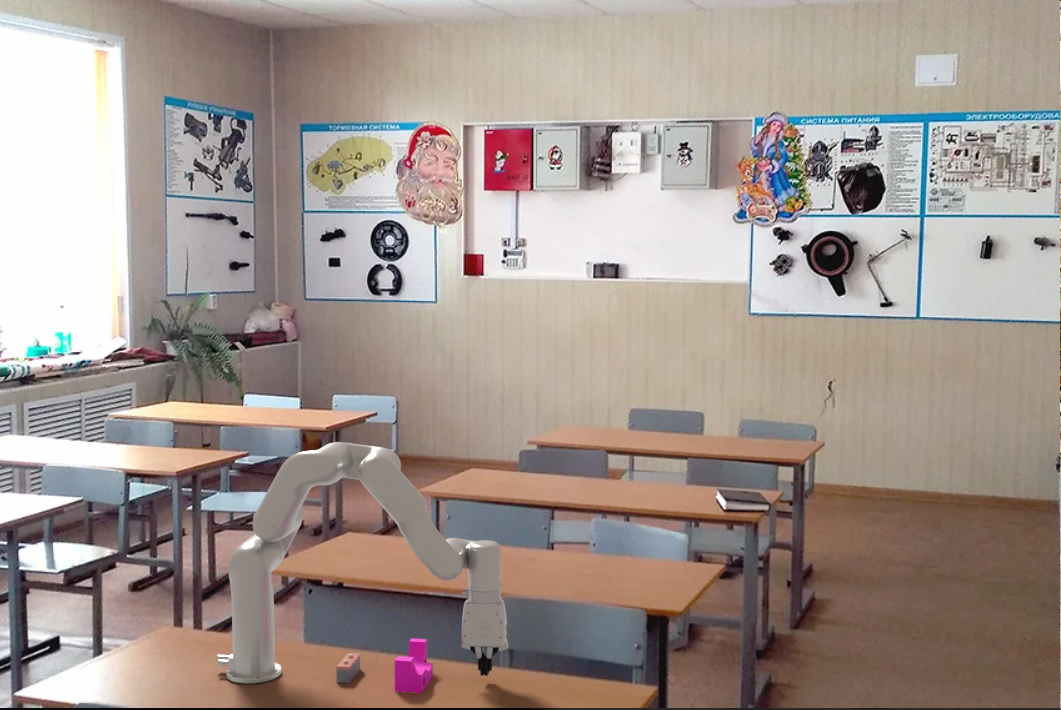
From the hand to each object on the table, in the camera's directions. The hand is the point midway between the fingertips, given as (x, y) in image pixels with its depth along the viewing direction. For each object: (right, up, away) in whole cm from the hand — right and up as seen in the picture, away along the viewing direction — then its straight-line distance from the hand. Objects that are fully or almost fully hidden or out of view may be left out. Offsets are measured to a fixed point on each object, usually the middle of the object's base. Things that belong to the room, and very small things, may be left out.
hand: (485, 673), depth 266 cm
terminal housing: (-32, -2, +4) cm, 32 cm away
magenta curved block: (-16, -2, +1) cm, 16 cm away
